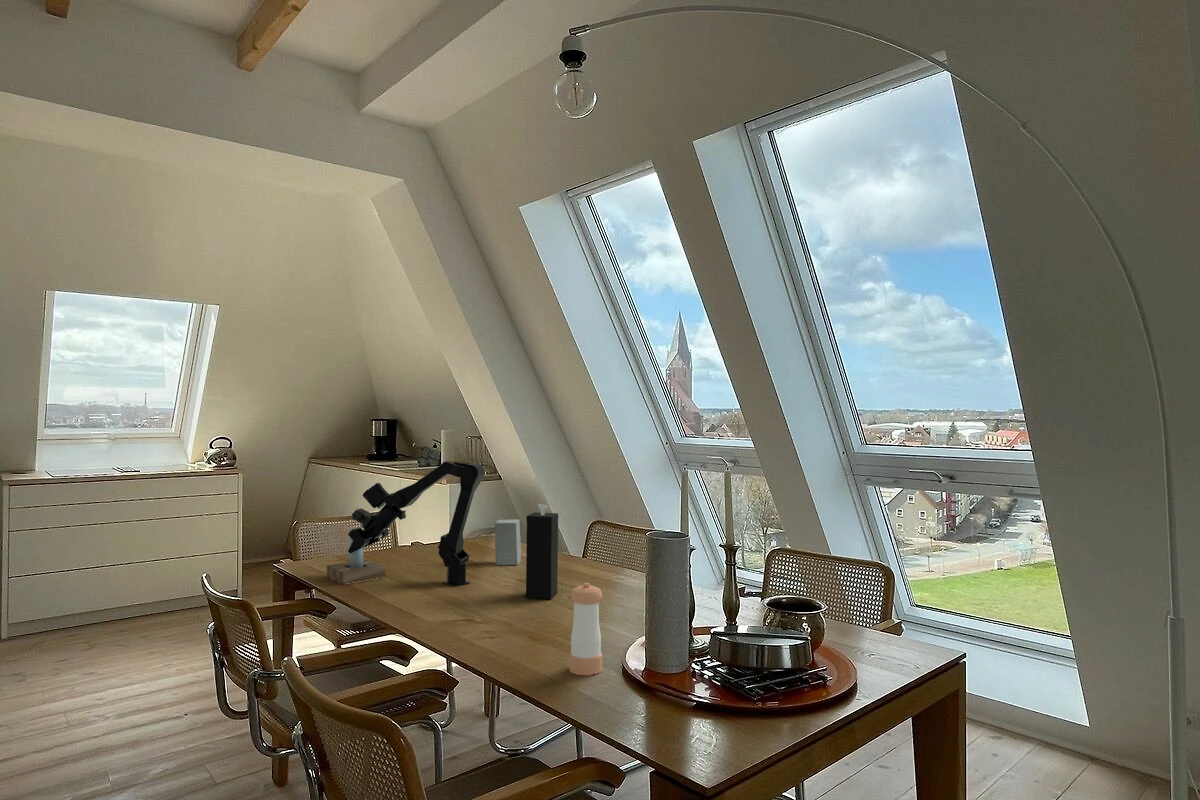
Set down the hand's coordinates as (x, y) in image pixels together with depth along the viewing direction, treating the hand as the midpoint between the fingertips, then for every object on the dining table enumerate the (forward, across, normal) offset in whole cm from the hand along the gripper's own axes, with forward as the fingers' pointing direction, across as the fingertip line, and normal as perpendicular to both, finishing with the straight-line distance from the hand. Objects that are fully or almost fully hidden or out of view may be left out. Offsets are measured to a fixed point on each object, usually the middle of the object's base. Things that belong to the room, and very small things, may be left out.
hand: (352, 551), depth 257 cm
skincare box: (-24, -33, +37) cm, 55 cm away
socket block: (+5, 0, +7) cm, 9 cm away
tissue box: (-41, +10, +54) cm, 68 cm away
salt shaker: (-59, +70, +72) cm, 116 cm away
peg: (+4, 0, +6) cm, 7 cm away
